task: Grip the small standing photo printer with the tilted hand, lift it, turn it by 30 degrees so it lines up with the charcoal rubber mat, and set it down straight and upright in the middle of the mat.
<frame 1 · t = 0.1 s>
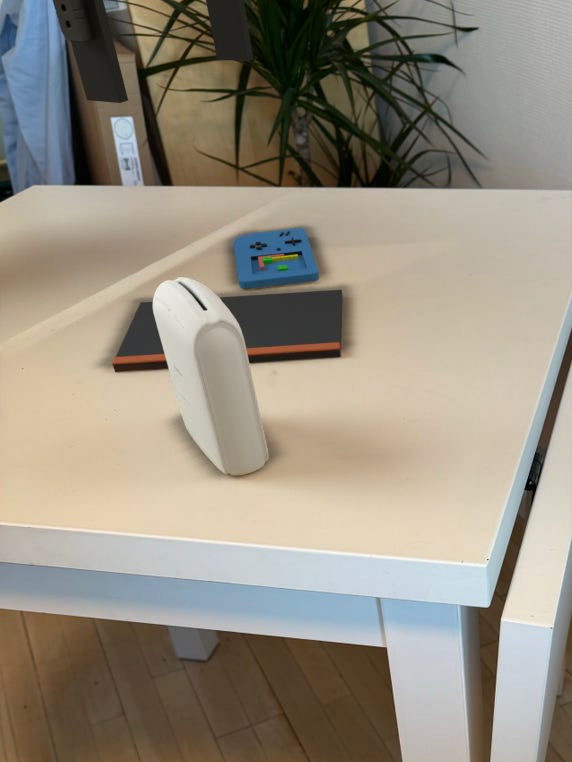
hand: (176, 79, 62), 23 cm above the table, tool pointing down, fingers open, 13 cm apart
handheld gaming device: (275, 262, 100), on the table
mat: (236, 332, 86), on the table
photo printer: (227, 448, 70), on the table
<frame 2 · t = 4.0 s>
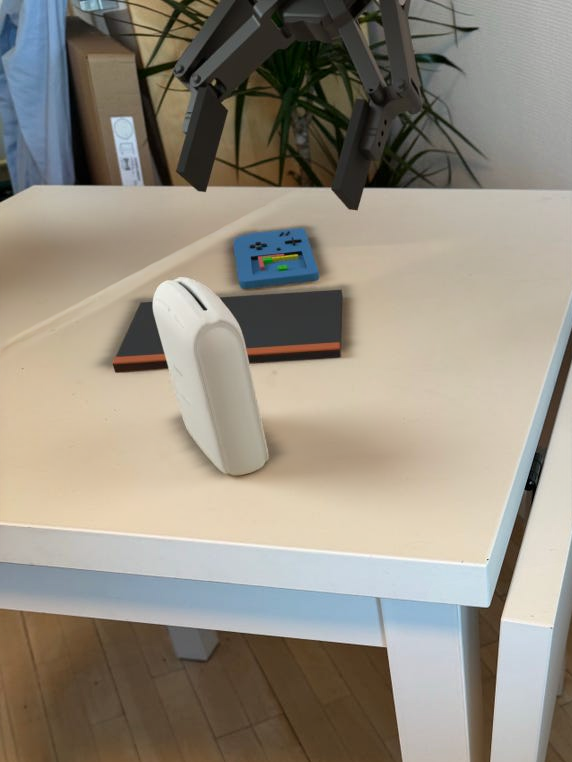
hand: (265, 191, 66), 16 cm above the table, tool tilted 45°, fingers open, 13 cm apart
nothing on the table moved.
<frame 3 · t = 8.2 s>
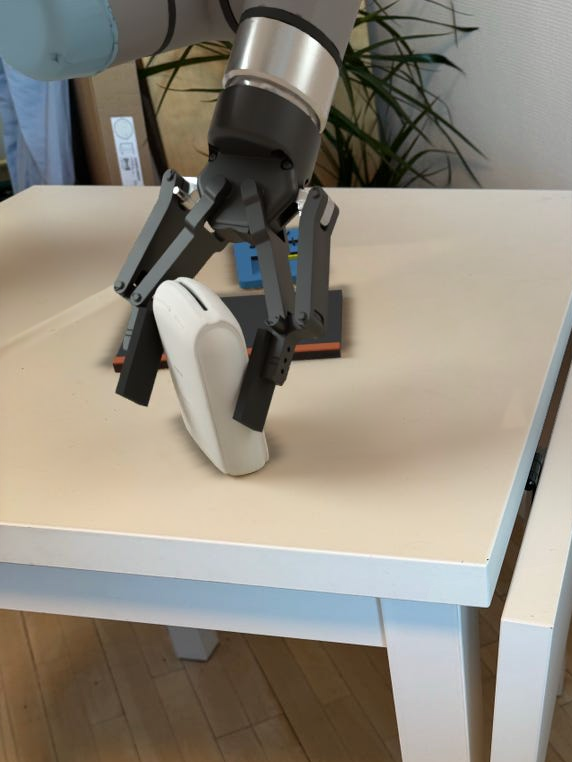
hand: (188, 412, 65), 4 cm above the table, tool tilted 45°, fingers closed on photo printer, 10 cm apart
photo printer: (227, 448, 70), on the table, touching gripper
everything else where it was.
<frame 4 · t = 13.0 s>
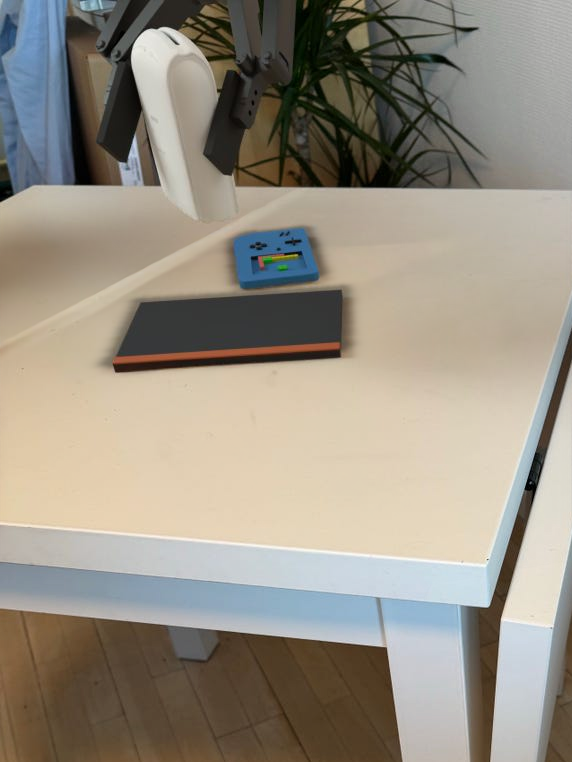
hand: (163, 158, 70), 17 cm above the table, tool tilted 45°, fingers closed on photo printer, 10 cm apart
photo printer: (202, 210, 75), point 12 cm above the table, touching gripper
everything else where it was.
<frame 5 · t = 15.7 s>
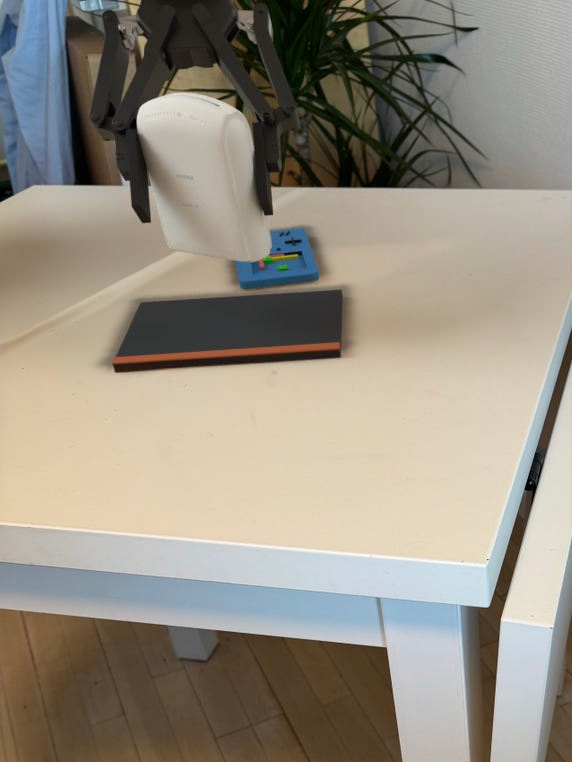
hand: (204, 210, 76), 12 cm above the table, tool tilted 45°, fingers closed on photo printer, 10 cm apart
photo printer: (220, 254, 81), point 7 cm above the table, touching gripper
everything else where it was.
when the fingers open (5 cm above the table, at t = 18.0 s): photo printer stays where it is, resting on mat.
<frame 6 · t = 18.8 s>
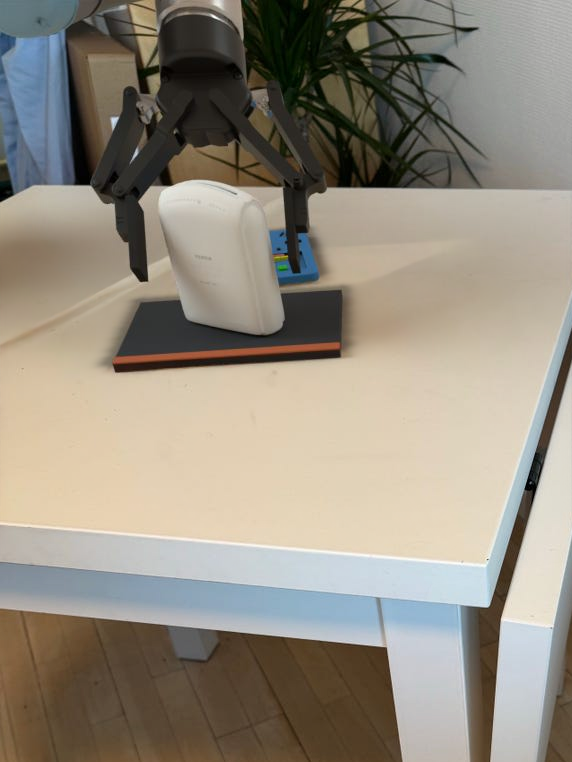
hand: (217, 271, 80), 6 cm above the table, tool tilted 45°, fingers open, 13 cm apart
photo printer: (235, 325, 86), point 1 cm above the table, touching mat
everything else where it was.
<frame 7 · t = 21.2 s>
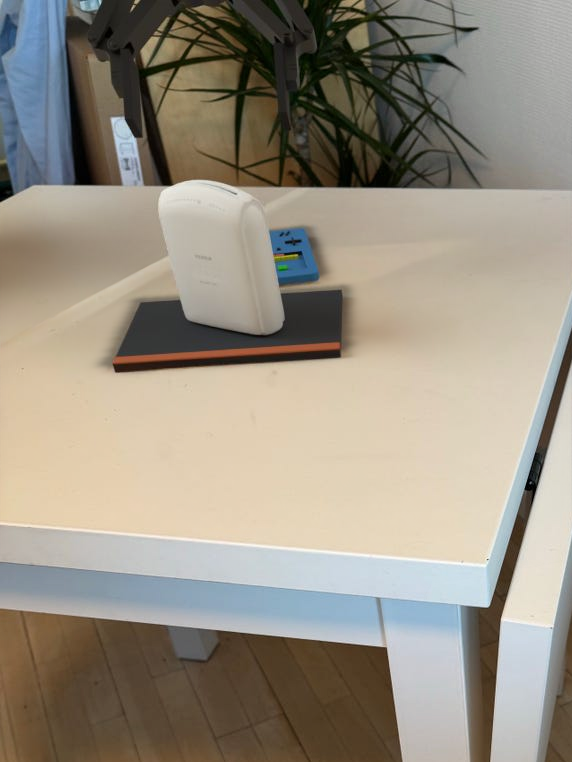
hand: (209, 125, 82), 16 cm above the table, tool tilted 45°, fingers open, 13 cm apart
nothing on the table moved.
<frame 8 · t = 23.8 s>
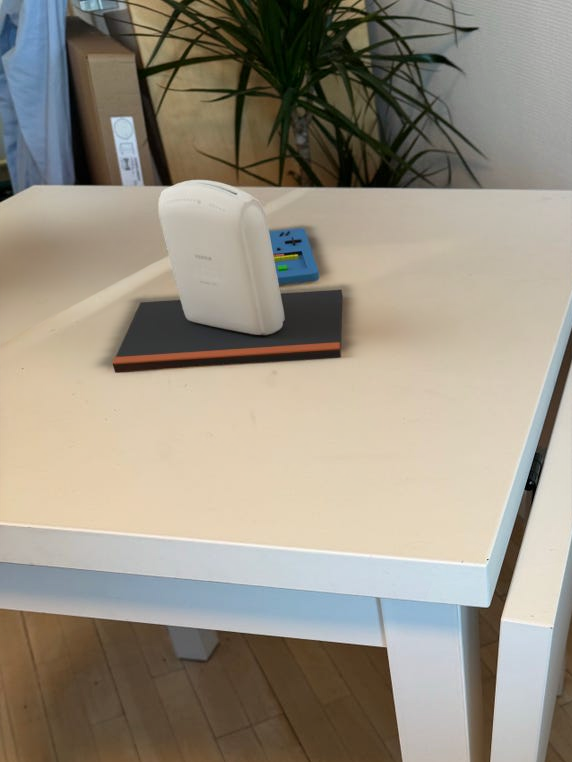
nothing on the table moved.
at the end: photo printer inside the target area on the mat (0.1 cm from its centre), point 0.6 cm above the mat's base; photo printer tilted 0°; photo printer moved 21.7 cm from its start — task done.
